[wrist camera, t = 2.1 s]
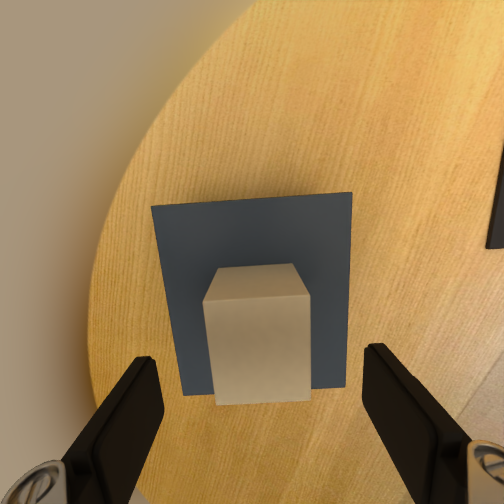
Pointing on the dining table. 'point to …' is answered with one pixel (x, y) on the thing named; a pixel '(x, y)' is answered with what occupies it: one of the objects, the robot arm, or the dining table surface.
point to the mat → (497, 215)
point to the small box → (259, 335)
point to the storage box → (252, 254)
